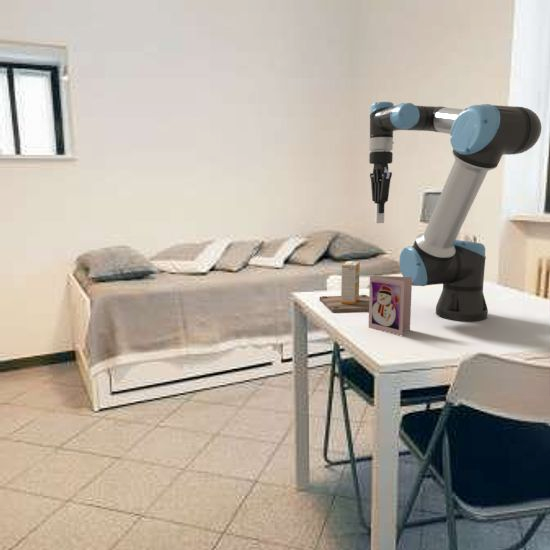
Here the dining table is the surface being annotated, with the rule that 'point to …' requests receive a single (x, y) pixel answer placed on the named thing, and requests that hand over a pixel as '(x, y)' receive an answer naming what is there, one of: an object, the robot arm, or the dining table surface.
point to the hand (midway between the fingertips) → (379, 222)
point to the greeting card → (390, 303)
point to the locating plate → (336, 306)
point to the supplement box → (350, 282)
